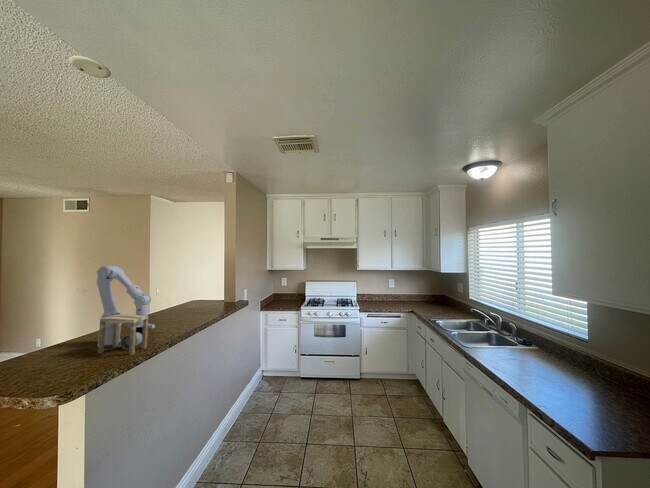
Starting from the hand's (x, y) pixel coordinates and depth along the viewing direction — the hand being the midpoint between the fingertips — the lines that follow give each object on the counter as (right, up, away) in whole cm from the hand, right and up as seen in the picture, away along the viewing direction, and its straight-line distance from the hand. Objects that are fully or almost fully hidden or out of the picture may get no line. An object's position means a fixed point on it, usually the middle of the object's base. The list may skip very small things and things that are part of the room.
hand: (140, 340), depth 145 cm
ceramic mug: (-1, -1, -7) cm, 7 cm away
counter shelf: (-1, -1, -12) cm, 12 cm away
